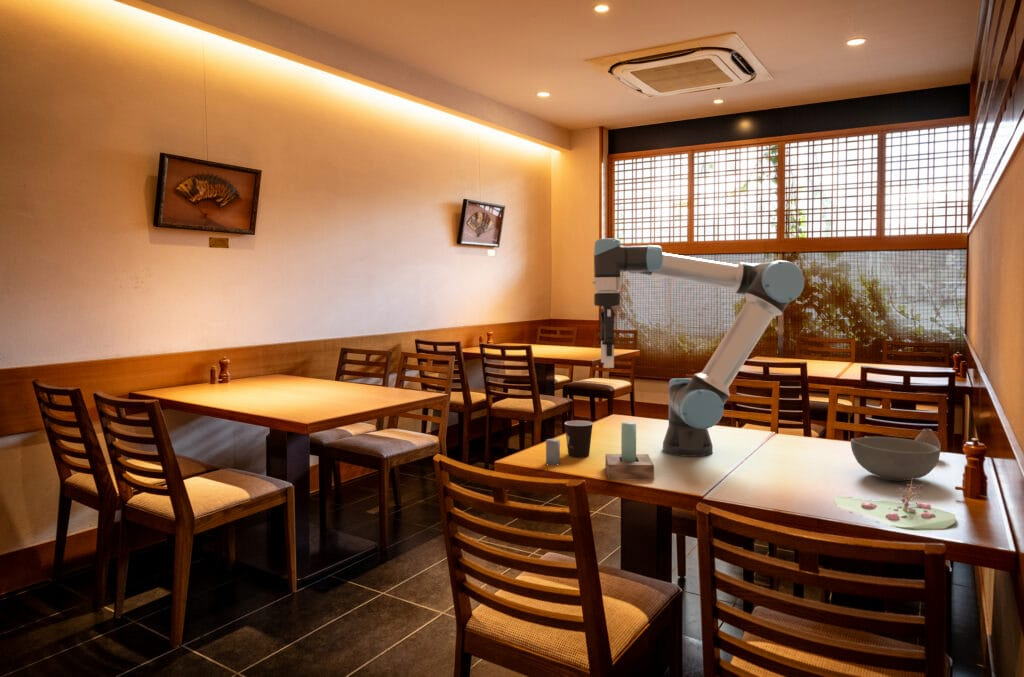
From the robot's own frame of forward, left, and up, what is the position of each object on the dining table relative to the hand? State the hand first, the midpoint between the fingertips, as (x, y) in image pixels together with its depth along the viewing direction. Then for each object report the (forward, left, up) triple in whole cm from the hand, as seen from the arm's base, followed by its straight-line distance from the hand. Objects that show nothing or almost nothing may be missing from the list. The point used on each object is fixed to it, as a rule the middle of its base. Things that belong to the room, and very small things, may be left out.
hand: (607, 365), depth 197 cm
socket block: (-5, +13, -29) cm, 32 cm away
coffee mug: (+8, -9, -29) cm, 31 cm away
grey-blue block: (+16, +3, -29) cm, 33 cm away
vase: (-94, -6, -29) cm, 99 cm away
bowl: (-74, +16, -29) cm, 81 cm away
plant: (-60, +43, -29) cm, 80 cm away
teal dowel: (-5, +13, -29) cm, 32 cm away
